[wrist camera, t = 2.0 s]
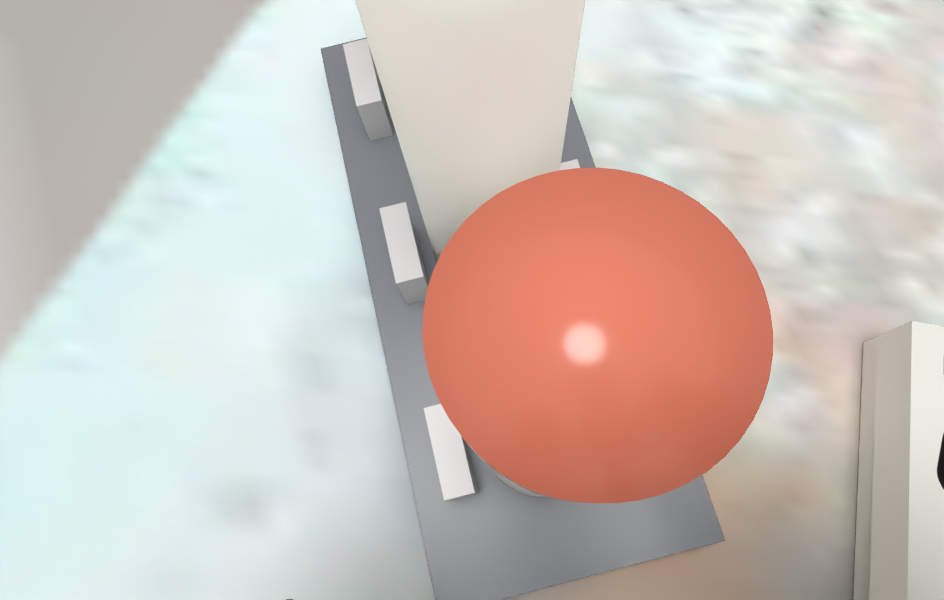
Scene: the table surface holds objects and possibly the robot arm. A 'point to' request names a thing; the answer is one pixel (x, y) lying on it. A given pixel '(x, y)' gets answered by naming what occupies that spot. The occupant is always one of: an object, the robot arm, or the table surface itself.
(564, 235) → the white cylinder orange top
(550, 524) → the fuse panel
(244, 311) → the table surface
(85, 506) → the table surface
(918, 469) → the tray
